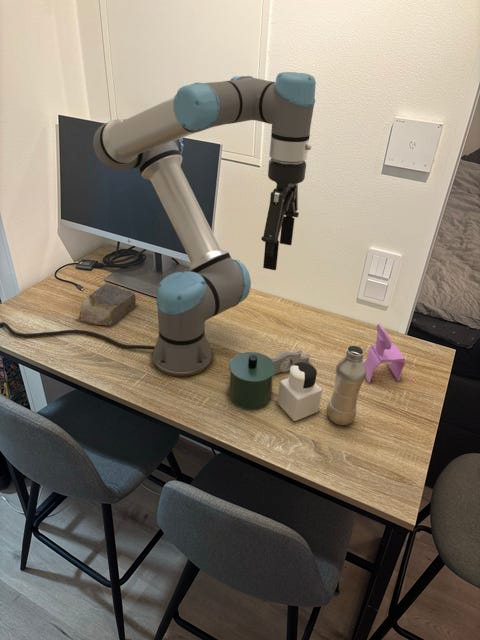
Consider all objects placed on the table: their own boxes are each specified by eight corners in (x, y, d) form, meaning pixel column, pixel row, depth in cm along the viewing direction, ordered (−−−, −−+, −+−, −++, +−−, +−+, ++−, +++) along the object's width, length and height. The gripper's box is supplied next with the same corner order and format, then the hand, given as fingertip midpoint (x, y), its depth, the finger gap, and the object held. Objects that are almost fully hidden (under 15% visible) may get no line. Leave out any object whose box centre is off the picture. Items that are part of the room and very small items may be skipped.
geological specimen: (137, 290, 147) (107, 312, 135) (137, 308, 150) (108, 330, 138) (107, 281, 150) (75, 302, 138) (108, 298, 153) (77, 320, 141)
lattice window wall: (306, 361, 130) (309, 343, 127) (309, 365, 129) (312, 347, 126) (267, 372, 126) (269, 354, 122) (270, 376, 124) (272, 358, 121)
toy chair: (402, 383, 125) (417, 336, 116) (370, 385, 123) (382, 337, 115) (390, 363, 132) (403, 317, 123) (359, 364, 130) (370, 318, 122)
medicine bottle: (300, 393, 120) (307, 355, 113) (318, 412, 115) (326, 373, 108) (276, 403, 116) (281, 364, 110) (294, 422, 111) (300, 382, 105)
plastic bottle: (338, 404, 117) (353, 337, 106) (359, 421, 113) (378, 353, 101) (319, 415, 114) (333, 347, 103) (340, 433, 109) (357, 364, 98)
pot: (230, 409, 114) (231, 381, 109) (228, 381, 122) (230, 354, 117) (272, 409, 115) (275, 381, 110) (268, 381, 123) (271, 354, 118)
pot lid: (229, 384, 109) (230, 372, 107) (228, 355, 118) (228, 343, 116) (277, 385, 110) (279, 372, 108) (272, 355, 119) (273, 343, 117)
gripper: (291, 180, 86) (279, 284, 98) (318, 147, 106) (306, 237, 118) (251, 173, 88) (244, 276, 100) (285, 143, 108) (276, 232, 120)
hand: (278, 255), depth 109 cm, fingers open, 13 cm apart
